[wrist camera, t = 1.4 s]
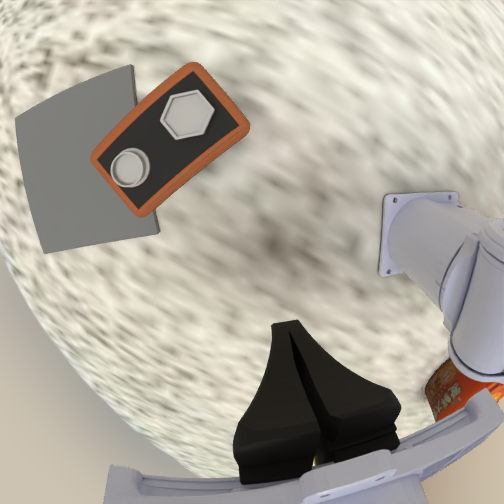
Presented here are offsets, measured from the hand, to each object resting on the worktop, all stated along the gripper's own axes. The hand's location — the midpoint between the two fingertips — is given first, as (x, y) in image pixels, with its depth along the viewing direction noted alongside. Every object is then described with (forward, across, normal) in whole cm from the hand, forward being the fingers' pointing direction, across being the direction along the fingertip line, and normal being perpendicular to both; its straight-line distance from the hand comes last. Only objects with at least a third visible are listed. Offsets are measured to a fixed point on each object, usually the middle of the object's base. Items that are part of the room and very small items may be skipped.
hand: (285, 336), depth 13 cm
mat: (+11, +15, -10) cm, 21 cm away
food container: (+10, -32, +28) cm, 44 cm away
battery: (+11, +4, -10) cm, 15 cm away
